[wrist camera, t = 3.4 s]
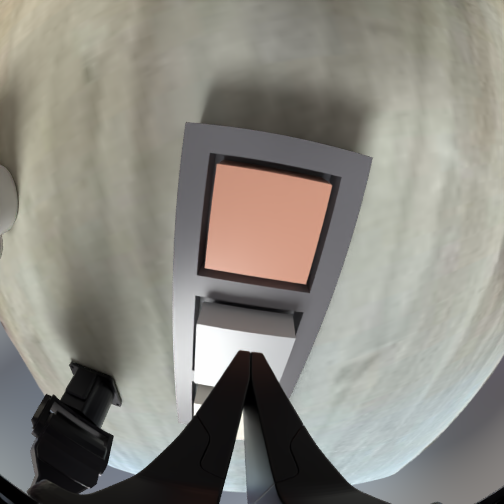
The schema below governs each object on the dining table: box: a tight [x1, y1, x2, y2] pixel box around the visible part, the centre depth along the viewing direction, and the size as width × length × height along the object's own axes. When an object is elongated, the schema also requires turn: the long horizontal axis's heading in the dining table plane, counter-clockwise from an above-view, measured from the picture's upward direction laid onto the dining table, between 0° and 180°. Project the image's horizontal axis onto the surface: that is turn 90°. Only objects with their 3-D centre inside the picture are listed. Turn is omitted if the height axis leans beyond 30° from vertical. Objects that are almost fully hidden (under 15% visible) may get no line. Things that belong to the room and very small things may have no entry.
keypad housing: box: [173, 122, 372, 425], centre depth 20 cm, size 28×10×3 cm, turn 171°
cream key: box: [194, 384, 244, 440], centre depth 22 cm, size 6×6×2 cm
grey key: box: [194, 301, 296, 386], centre depth 18 cm, size 6×6×2 cm
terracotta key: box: [205, 160, 332, 284], centre depth 16 cm, size 6×6×2 cm
